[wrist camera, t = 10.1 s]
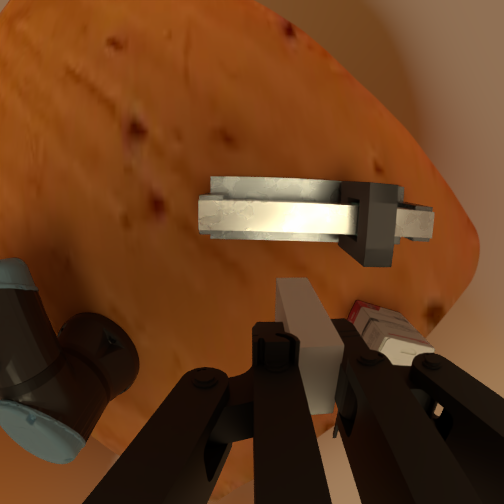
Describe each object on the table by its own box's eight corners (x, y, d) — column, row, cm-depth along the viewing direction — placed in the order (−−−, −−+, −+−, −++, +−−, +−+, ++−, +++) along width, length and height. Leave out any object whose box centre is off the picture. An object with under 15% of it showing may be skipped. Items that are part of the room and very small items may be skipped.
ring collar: (338, 245, 38) (363, 266, 28) (341, 181, 36) (370, 182, 27) (360, 245, 38) (391, 267, 28) (364, 183, 36) (398, 185, 27)
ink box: (342, 327, 44) (366, 371, 33) (355, 298, 43) (385, 336, 32) (388, 339, 45) (418, 380, 33) (401, 312, 44) (437, 349, 32)
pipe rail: (211, 237, 41) (198, 254, 32) (211, 176, 39) (198, 175, 30) (396, 242, 41) (429, 259, 32) (401, 186, 39) (436, 190, 30)
